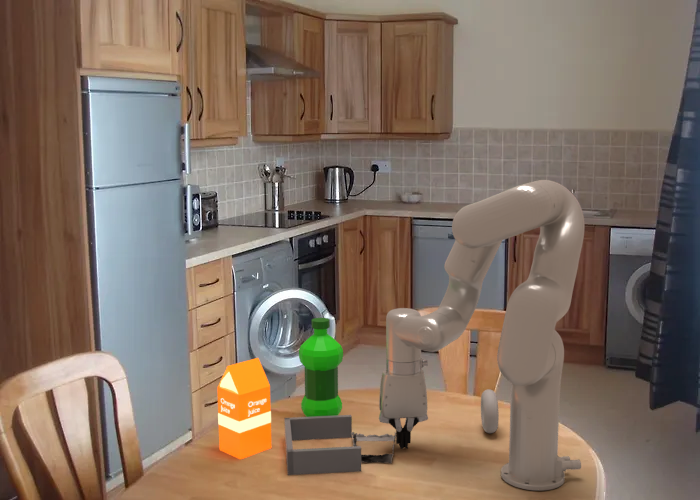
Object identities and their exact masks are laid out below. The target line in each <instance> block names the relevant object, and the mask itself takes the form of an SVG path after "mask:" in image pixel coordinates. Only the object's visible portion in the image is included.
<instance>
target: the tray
mask: <svg viewBox="0 0 700 500" xmlns="http://www.w3.org/2000/svg"><path fill="white" fill-rule="evenodd" d="M352 423H353V422H352V415H351V414H343V415H342V414H339V415H336V416H314V417H306V416H297V417H296V416H294V417H284V441H285V443H284V445H285V457H286V471H287V472H286V473H287V476H295V475H301V476H302V475H317V474H335V473H337V474H338V473H352V472H353V473H355V472H357V473H358V472H362V463H361V455H362V446H361V445H357V446H353V445H352V446H339V447H338V446H337V447H334V446H333V447H317V448H316V447H315V448H314V447H313V448H297V449H295V448H293V441H309V440H329V439H331V440H332V439H349V438H350V439H351V438H352V434H351V433H352V430H353V427H352V426H353V425H352ZM352 439H353V438H352Z"/></svg>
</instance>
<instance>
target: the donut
mask: <svg viewBox="0 0 700 500" xmlns="http://www.w3.org/2000/svg"><path fill="white" fill-rule="evenodd" d="M498 402H499V401H498V396H497V394H496V392H495V391H494V389H493V390H492V389H490V388H489V389H488V388H487V389H485V390H483V392H482V393H481V396H480V417H481V420H480V421H481V426H482V428H483V431H484V432H486V433H487V434H494V433H495V432H497V430H498V428H499V420H500V419H499V413H500V412H499V403H498Z"/></svg>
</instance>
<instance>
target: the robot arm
mask: <svg viewBox="0 0 700 500" xmlns="http://www.w3.org/2000/svg"><path fill="white" fill-rule="evenodd" d="M585 226H586V225H585V217H584V212H583V209H582V207H581V204H580V202H579V201H578V199H577V198H576V196H575V195H574V194H573V193H572V191H570V190H569V189H568V188H567V187H566V186H564V185H563V184H562V183H561V184H560V183H559V182H556V181H553V180H549V179H540V180H535V181H530V182H527V183H524V184H523V183H522V184H519V185H516V186H514V187H510V188H509V189H506V190H504V191H502V192H500V193H497V194H494V195H491V196H489V197H487V198H484V199H482V200H479V201H476V202H474V203H470V204H467V205H464V206H462V208H461V209H460V208H459V210H458V211H457V212H456V214H455V215H454V217H453V219H452V223H451V230H452V232H451V233H452V235H453V239H454V243H453V245H452V246H451V250H450V251H449V253H448V256H447V258H446V260H445V262H444V270H445V272H446V273H447V275H448V278H449V279H448V284H447V289H446V290H445V293H444V296H443V298H442V300H441V302H440V304H439V306H438V308H437V309H436V310H434V311H432V312H431V313H427V314H424V315H421V313H420V312H419V310H416V309H414V308H410V307H409V308H406V307H399V308H394V309H391V310H389V311H388V312H387V314H386V317H385V318H386V320H385V327H386V328H385V332H386V333H385V342H386V343H385V355H386V356H385V365H386V366H385V369H383V370H382V373H381V377H380V383H379V384H380V385H379V400H378V407H379V411H380V412H379V416H378V419H379V422H380V423H383V424H387V425H388V424H389V425H390V426H391V427H393V428H394V429H395V432H396V438H395V443H396V444H397V445H399V449H400V450H403V449H405V450H407V449H409V444H411V443H412V442H411V440H412V439H411V438H412V437H411V435H412V434H411V432H412V431H413V429H414V427H416V426H417V425H418V423H423V422H425V421H428V420H429V415H428V393H427V392H428V391H427V383H426V382H427V381H426V376H425V372H424V369H423V367H428V364H429V363H428V359H423V358H422V351H425V352H430V353H432V352H437V351H438V352H439V351H441V350H442V349H444V348H445V347H447V346H448V345H450V344H451V343H453V342H454V341H456V340H458V339H459V338H460V337H461V336H462V335H463V333H464V332H465V330H466V329H467V327H468V325H469V323H470V321H471V318H472V316H473V315H474V313H475V311H476V309H477V306H478V304H479V300H480V297H481V293H482V288H483V282H484V279H485V278H486V275H487V273H488V271H489V270H490V267H491V265H492V263H493V261H494V259H495V258H496V257H495V256H496V255H497V252H498V251H499V248H500V247H501V245H502V243H503V241H504V240H507V239H510V238H513V237H515V236H518V235H521V234H524V233H527V232H529V231H532V230H535V229H538V228H539V230H540V231H539V236H538V239H537V242H536V245H535V249H534V252H533V259H532V264H531V268H530V271H529V275H528V277H527V279H526V280H525V281H523V282H522V283H520V284H518V286H517V287H516V288H515V289H514V291H512V292H511V295H510V296H509V299H508V302H507V305H506V310H505V314H504V319H503V324H502V328H501V334H500V337H499V343H498V347H497V355H496V356H497V366H498V369H499V371H500V373H501V376H503V378H504V379H505V380H506V381H508V382H510V383H511V387H510V402H509V404H510V407H509V409H510V412H509V444H508V445H509V449H508V450H509V453H508V462H507V463H505V464H503V465H502V466H501V469H500V476H501V478H502V480H504V482H505V483H507V484H509V485H511V486H512V487H514V488H515V487H516V488H519V489H523V490H527V491H537V492H538V491H550V490H554V489H557V488H559V487H561V486H562V485H563V484H564V483H565V477H566V475H565V472H566V471H567V470H573V471H574V470H581V469H582V462H581V460H580V459H571V456H570V455H569V456H568V455H567V456H559V454H558V449H559V447H558V446H559V427H560V426H559V425H560V424H559V420H560V418H559V417H560V403H561V402H560V401H561V399H560V398H561V397H560V396H561V382H562V375H563V368H564V361H565V348H564V342H563V339H562V337H561V335H560V334H559V332H557V330H556V325H557V323H558V322H559V321H560V320H561V319H562V318H563V317H565V315H566V314H567V313H568V312H569V309H570V307H571V304H572V303H571V302H572V296H573V293H574V292H573V291H574V286H575V283H576V278H577V273H578V269H579V262H580V258H581V253H582V249H583V243H584V237H585ZM401 419H405V422H404V425H403V426H402V422H401Z"/></svg>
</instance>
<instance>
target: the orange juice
mask: <svg viewBox="0 0 700 500" xmlns="http://www.w3.org/2000/svg"><path fill="white" fill-rule="evenodd" d="M269 382H270V381H269V380H268V377H267V375H266V372H265V370H264V368H263V365H262V363H261V360H260V358H259V357H256V358H252V359H249V360H244V361H240V362H236V363H233V364H230V365H226V369H225V371H224V373H223V375H222V377H221V379H220V382H219V384H218V386H217V387H216V389H217V412H218V413H217V420H218V421H217V422H218V423H217V424H218V439H219V442H218V447H219V451H220V452H223V453H225V454H227V455H230V456H232V457H233V458H236V459H238V460H243V459H246V458H249V457H251V456H254V455H256V454H260V453H261V452H265V451H268V450H270V449H272V411H271V409H272V407H271V385H270V383H269Z"/></svg>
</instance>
